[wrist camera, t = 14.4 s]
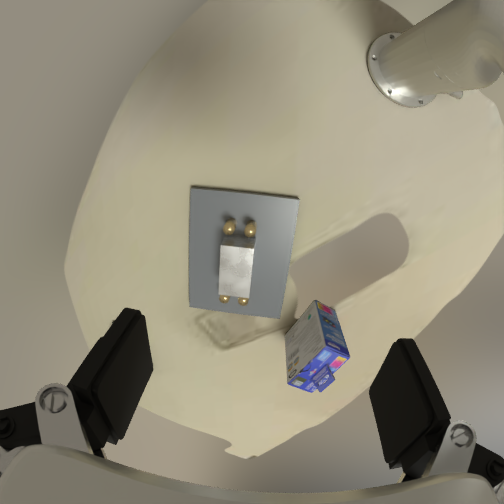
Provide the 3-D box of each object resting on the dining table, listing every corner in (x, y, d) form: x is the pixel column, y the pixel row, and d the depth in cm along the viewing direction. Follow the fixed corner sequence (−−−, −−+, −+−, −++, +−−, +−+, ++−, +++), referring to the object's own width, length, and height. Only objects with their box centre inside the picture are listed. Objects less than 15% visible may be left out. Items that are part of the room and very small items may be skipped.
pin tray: (298, 198, 42) (301, 205, 38) (279, 314, 50) (279, 329, 46) (192, 186, 42) (184, 192, 38) (191, 303, 51) (185, 316, 47)
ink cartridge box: (307, 346, 53) (313, 405, 40) (283, 335, 52) (284, 395, 39) (338, 311, 49) (355, 369, 36) (314, 298, 48) (325, 356, 35)
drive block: (256, 236, 43) (254, 248, 39) (251, 282, 47) (249, 298, 42) (225, 233, 43) (220, 245, 39) (222, 279, 47) (218, 294, 42)
